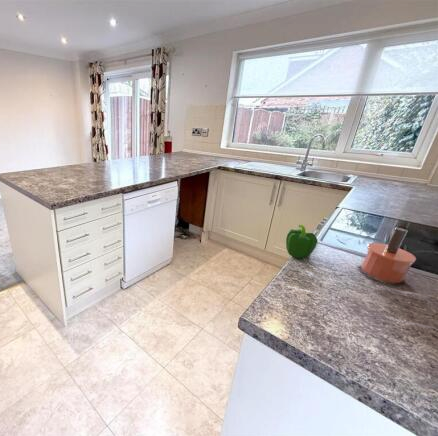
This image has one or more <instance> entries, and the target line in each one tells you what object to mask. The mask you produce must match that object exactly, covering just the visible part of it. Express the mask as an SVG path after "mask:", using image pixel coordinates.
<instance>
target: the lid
mask: <svg viewBox="0 0 438 436" xmlns="http://www.w3.org/2000/svg"><path fill="white" fill-rule="evenodd" d="M407 233H408V230H407V229H405V228H402V227H395V228H394V230H393V232H392V234H391V237H390V239H389V241H388V243H380V242H371V243H368V244H367V246H366V249H367V251H368V250H369V251H370V252H372V253H373V254H375V255H377V256H379V257H382V258H385V259H388V260H391V261H395V262H400V263H412V264H414V263H415V262H416V260H417V258H416V256H415V255H414V254H412V253H410V252H409V251H406V250H405V249H402V248H401V245H402V243H403V241H404V239H405V237H406V236H407Z"/></svg>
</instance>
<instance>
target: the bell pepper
mask: <svg viewBox="0 0 438 436" xmlns="http://www.w3.org/2000/svg"><path fill="white" fill-rule="evenodd" d="M285 239H286V240H285V241H286V242H285V245H286V251H287V253H288V255H289V256H290V257H293V258H296V259H302V258H308V257H310V256H311V255H312V253H313V252H314V250H315V249H316V248H317V245H318V238H317V236H316V235H315V233H313V232H306V227H305V226H304V225H303V224H298V229H292V228H291V229H290V230H289V231H288V233H287V235H286V237H285Z"/></svg>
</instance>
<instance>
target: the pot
mask: <svg viewBox="0 0 438 436" xmlns="http://www.w3.org/2000/svg"><path fill="white" fill-rule="evenodd" d="M412 265H413V263H400V262H395V261H391V260H388V259H385V258H382V257H379V256H377V255H375V254H373V253H372V252H370V251H369V250H368V249H367V252H366V254H365V257H364V258H363V261H362V263H361V266H360V268H361V269H362V271H363V272H365V273H366V274H368V275H369V276H372V277H373V278H375V279H378V280H381V281H384V282H388V283H394V284H395V283H402V282H403V281H404V279H405V278H406V276H407V274H408V272H409V270H410V269H411V266H412Z"/></svg>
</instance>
